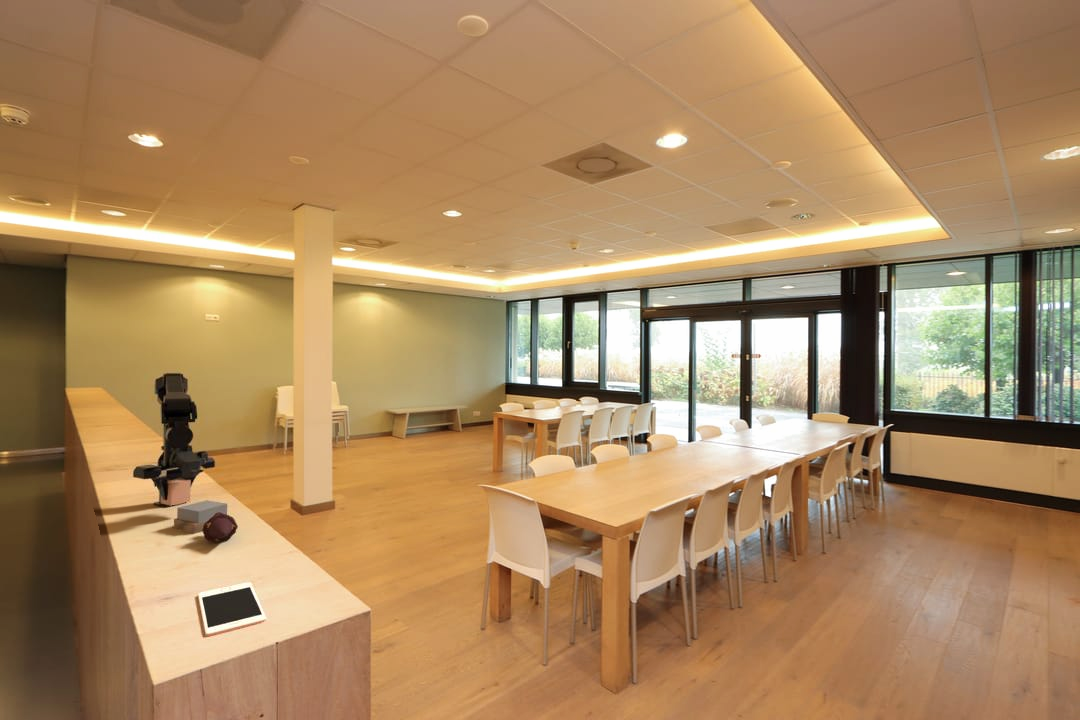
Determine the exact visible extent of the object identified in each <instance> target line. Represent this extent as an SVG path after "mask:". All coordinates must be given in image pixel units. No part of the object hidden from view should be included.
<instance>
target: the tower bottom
mask: <svg viewBox="0 0 1080 720" xmlns="http://www.w3.org/2000/svg"><path fill="white" fill-rule="evenodd" d="M227 515H228V516H230V515H229V514H227ZM207 521H208V520H207ZM207 521H204V522H200V523H196V522H190V521H185V520H179V519H177V518H173V529H175V528H176V529H175V530H179V529H180V530H179V531H184V532H187V533H190V534H194V535H195V534H198V533H203V531H202V529H203V525H204V524H205V523H206V522H207Z"/></svg>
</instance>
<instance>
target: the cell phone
mask: <svg viewBox="0 0 1080 720" xmlns="http://www.w3.org/2000/svg"><path fill="white" fill-rule="evenodd" d="M197 598H198V604H199V609H200V613H201V620H202V625H203V631H204V634H205V635H206V636H205V637H213V636H217V635H221V634H224V633H228V632H231V631H235V630H239V629H243V628H246V627H248V628H249V627H251V626H255V625H259V624H261V622H263V623H265V622H266V621H267V616H266V614H265V612H264V610H263V607H262V605H261V603H260V600H259V598H258V595H257V594H256V591H255V589H254V587H253V584H252V582H250V581H248V582H243V583H238V584H234V585H230V586H223V587H219V588H214V589H211V590H209V589H208V590H205V591H200V592H199V593H198V594H197ZM265 620H266V621H265ZM264 621H265V622H264ZM258 623H259V624H258Z"/></svg>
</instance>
